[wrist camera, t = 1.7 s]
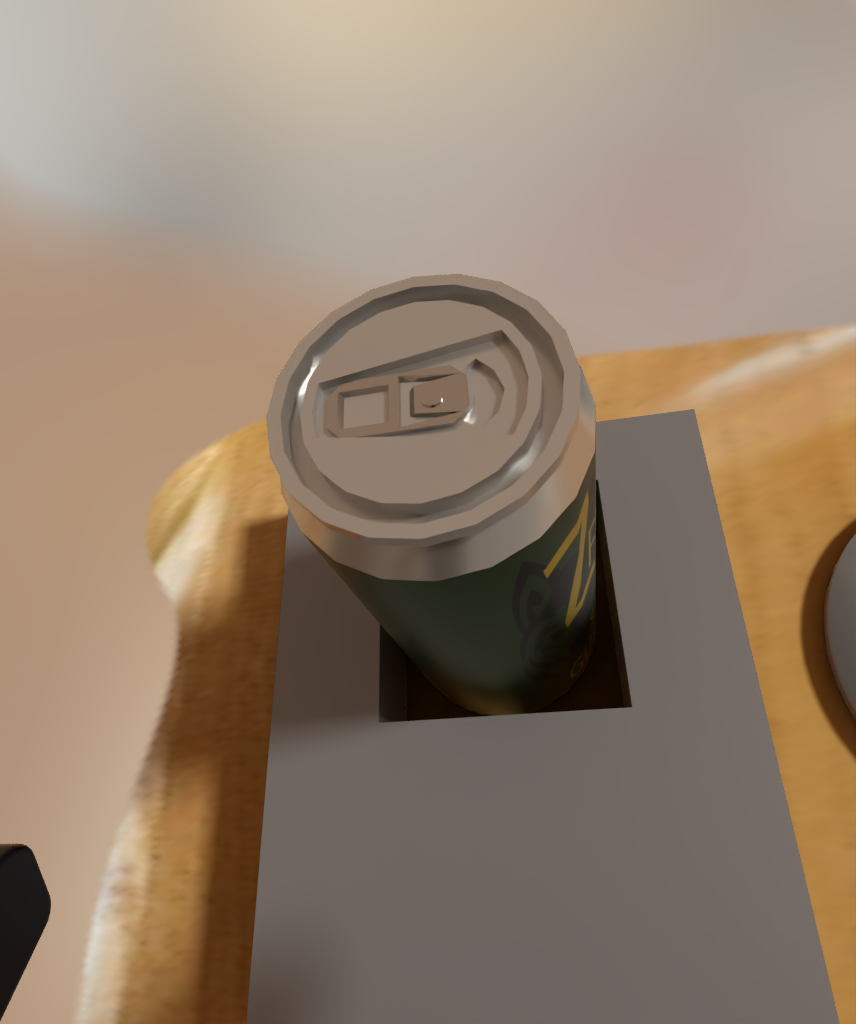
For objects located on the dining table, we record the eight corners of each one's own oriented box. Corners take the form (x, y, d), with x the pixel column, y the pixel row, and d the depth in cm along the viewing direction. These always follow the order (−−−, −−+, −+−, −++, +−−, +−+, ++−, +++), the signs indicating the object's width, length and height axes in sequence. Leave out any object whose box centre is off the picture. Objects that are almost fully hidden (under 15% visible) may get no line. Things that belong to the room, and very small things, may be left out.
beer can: (420, 728, 20) (237, 575, 10) (415, 558, 23) (265, 295, 12) (609, 715, 20) (625, 530, 9) (583, 539, 22) (572, 237, 12)
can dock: (803, 1016, 16) (844, 1045, 13) (296, 1010, 18) (245, 1033, 15) (682, 463, 22) (693, 409, 20) (324, 505, 25) (292, 461, 22)
